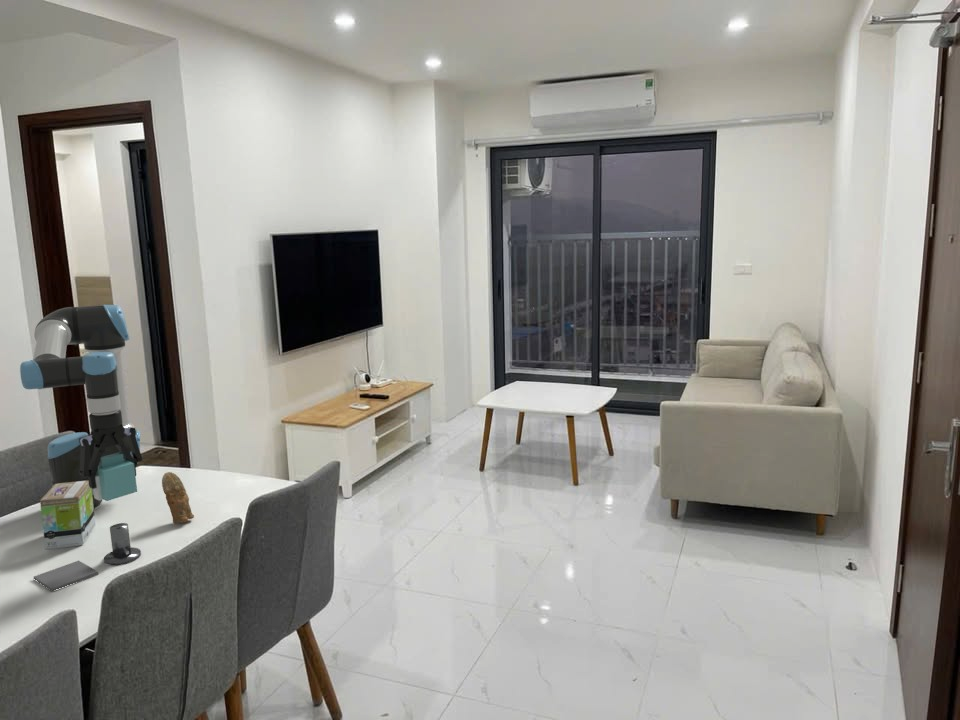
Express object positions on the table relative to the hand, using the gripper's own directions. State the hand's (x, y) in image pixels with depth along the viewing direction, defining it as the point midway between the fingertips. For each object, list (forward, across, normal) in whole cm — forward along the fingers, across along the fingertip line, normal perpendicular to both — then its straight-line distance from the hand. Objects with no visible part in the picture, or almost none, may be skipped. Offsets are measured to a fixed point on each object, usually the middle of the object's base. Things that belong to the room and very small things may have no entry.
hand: (115, 493), depth 189 cm
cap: (0, 0, 0) cm, 0 cm away
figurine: (+19, -23, -10) cm, 31 cm away
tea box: (+19, +2, -26) cm, 32 cm away
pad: (+18, +14, 0) cm, 23 cm away
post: (+18, 0, 0) cm, 18 cm away
